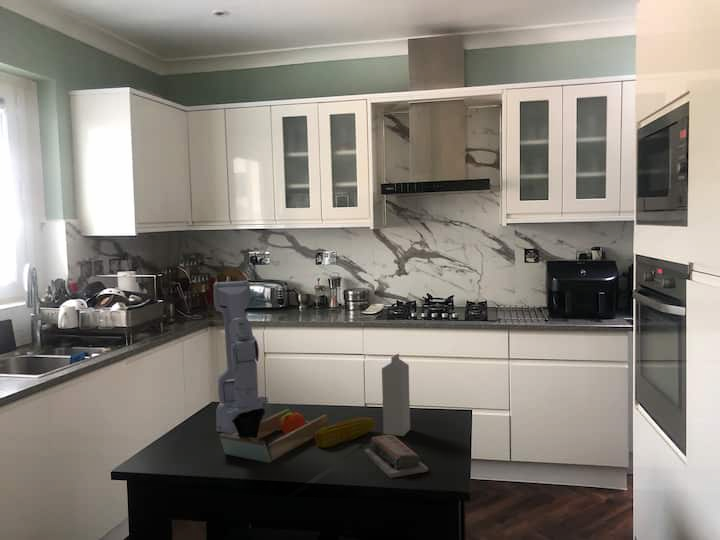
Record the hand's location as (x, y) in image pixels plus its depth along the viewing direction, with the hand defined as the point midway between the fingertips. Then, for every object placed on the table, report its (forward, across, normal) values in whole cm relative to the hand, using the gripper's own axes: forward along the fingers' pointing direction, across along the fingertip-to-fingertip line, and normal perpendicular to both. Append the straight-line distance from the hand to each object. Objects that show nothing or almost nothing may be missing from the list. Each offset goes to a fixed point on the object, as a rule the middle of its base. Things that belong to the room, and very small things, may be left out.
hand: (248, 439), depth 164 cm
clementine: (+6, +19, 0) cm, 20 cm away
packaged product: (+6, +15, -34) cm, 38 cm away
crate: (+5, +13, 0) cm, 14 cm away
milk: (+6, +35, -25) cm, 43 cm away
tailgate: (+4, 0, 0) cm, 5 cm away
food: (+6, +23, -15) cm, 28 cm away
